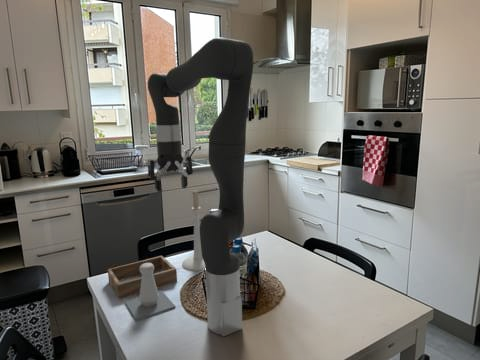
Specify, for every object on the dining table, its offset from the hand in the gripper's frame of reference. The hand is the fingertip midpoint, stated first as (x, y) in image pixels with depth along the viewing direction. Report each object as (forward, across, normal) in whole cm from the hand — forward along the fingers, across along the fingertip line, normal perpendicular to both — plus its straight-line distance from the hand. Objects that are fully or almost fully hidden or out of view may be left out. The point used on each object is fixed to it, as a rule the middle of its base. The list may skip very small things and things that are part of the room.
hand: (171, 189), depth 112 cm
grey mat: (+34, -12, -6) cm, 37 cm away
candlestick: (+34, +14, +12) cm, 39 cm away
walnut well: (+34, -9, +10) cm, 37 cm away
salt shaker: (+34, -12, -6) cm, 36 cm away
